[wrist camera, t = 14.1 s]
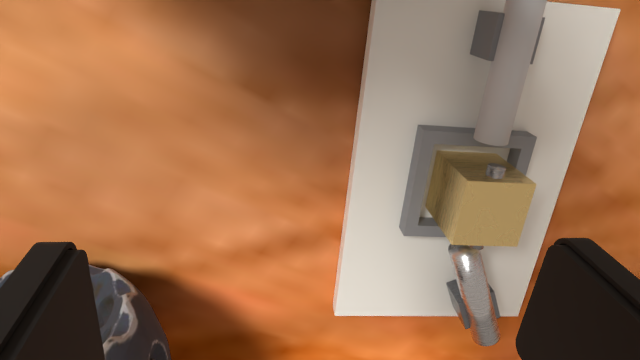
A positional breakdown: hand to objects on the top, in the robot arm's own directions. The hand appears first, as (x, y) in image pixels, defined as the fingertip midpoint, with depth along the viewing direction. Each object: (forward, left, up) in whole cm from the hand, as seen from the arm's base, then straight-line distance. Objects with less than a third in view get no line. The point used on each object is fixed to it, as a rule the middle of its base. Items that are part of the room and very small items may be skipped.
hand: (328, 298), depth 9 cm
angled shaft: (+17, +17, -25) cm, 34 cm away
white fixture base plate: (+8, +15, -26) cm, 31 cm away
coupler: (+8, +15, -25) cm, 30 cm away
